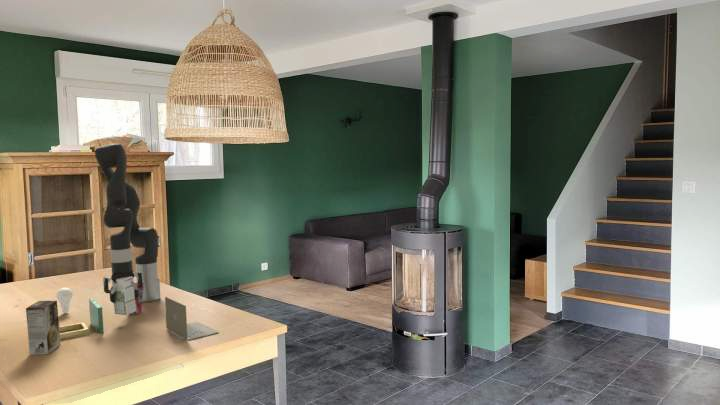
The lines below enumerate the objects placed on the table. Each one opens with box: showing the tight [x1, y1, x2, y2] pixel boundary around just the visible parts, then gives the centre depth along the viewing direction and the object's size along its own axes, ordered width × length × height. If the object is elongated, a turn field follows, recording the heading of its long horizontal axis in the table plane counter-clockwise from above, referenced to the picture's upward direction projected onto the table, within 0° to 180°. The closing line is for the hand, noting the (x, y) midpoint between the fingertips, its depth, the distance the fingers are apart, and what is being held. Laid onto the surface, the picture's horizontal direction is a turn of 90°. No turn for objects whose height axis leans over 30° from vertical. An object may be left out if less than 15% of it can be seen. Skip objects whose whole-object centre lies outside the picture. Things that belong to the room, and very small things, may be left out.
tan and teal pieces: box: [59, 298, 104, 341], centre depth 205 cm, size 15×16×10 cm
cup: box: [129, 282, 144, 316], centre depth 229 cm, size 9×8×12 cm
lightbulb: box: [55, 287, 74, 314], centre depth 231 cm, size 6×6×11 cm
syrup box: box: [111, 276, 136, 316], centre depth 214 cm, size 6×6×14 cm
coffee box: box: [25, 300, 61, 356], centre depth 186 cm, size 9×6×16 cm
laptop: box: [164, 296, 220, 342], centre depth 203 cm, size 18×12×13 cm
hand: (124, 300), depth 215 cm, fingers closed on syrup box, 7 cm apart
